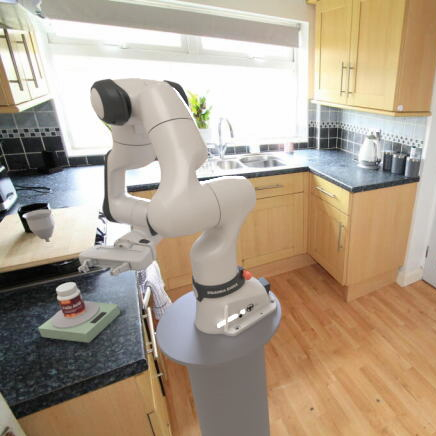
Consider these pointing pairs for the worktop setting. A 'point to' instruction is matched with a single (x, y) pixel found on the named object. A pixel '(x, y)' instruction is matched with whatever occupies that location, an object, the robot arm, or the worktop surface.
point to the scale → (80, 323)
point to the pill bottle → (70, 300)
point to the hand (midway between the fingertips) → (96, 272)
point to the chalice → (40, 223)
